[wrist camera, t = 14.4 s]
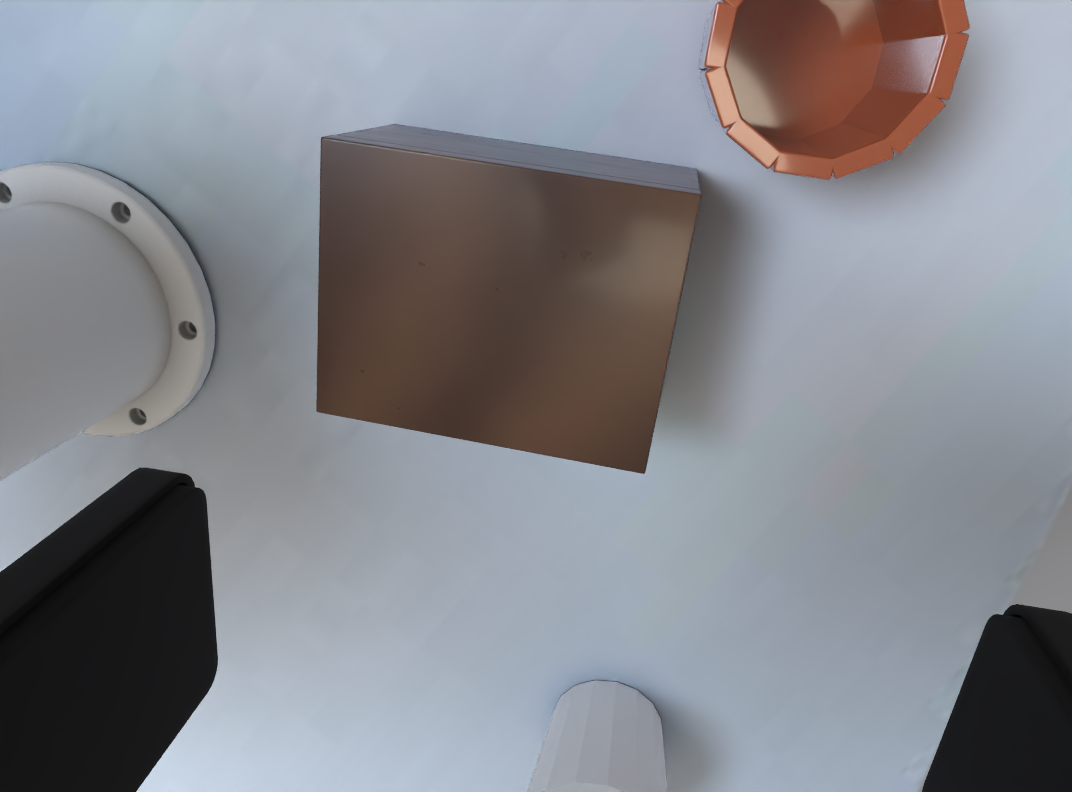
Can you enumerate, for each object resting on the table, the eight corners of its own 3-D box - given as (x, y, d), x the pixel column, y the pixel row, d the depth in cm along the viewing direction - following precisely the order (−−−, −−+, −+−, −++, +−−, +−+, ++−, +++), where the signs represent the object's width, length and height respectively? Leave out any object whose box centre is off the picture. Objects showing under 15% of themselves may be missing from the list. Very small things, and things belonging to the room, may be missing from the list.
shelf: (381, 350, 35) (315, 412, 29) (393, 123, 31) (320, 136, 25) (651, 398, 34) (644, 474, 28) (697, 168, 30) (702, 194, 24)
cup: (684, 139, 30) (685, 159, 23) (722, -61, 27) (736, -106, 20) (864, 165, 29) (920, 193, 22) (920, -38, 27) (1004, -76, 20)
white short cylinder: (623, 649, 39) (612, 763, 33) (700, 745, 40) (704, 871, 34) (515, 702, 41) (484, 817, 35) (591, 790, 43) (575, 916, 36)
